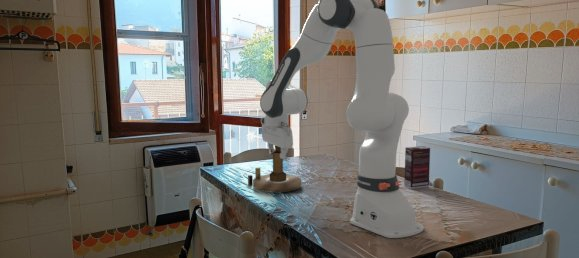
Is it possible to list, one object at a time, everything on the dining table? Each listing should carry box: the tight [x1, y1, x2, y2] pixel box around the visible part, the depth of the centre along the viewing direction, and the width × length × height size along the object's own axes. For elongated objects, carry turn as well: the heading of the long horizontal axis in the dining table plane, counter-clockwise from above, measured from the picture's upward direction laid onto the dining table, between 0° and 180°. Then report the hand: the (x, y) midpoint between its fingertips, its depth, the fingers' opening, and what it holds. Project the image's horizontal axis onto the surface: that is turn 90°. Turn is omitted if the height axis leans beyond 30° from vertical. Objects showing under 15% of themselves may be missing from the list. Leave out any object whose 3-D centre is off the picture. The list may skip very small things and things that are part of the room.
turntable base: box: [247, 174, 254, 187], centre depth 163 cm, size 15×15×4 cm
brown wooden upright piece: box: [269, 145, 286, 182], centre depth 161 cm, size 7×6×18 cm
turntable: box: [252, 167, 302, 193], centre depth 162 cm, size 19×19×6 cm
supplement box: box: [403, 145, 431, 190], centre depth 162 cm, size 9×5×16 cm, turn 109°
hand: (277, 156), depth 161 cm, fingers open, 8 cm apart
